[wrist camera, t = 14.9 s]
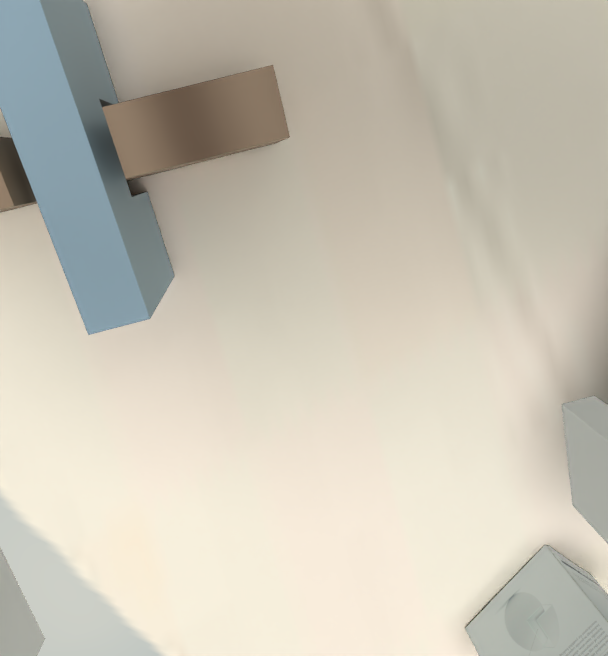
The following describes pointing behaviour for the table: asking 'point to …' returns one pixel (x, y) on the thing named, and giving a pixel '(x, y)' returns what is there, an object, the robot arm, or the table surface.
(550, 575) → the skincare box
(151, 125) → the slotted beam
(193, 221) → the table surface
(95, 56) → the long blue bar
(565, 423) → the robot arm
